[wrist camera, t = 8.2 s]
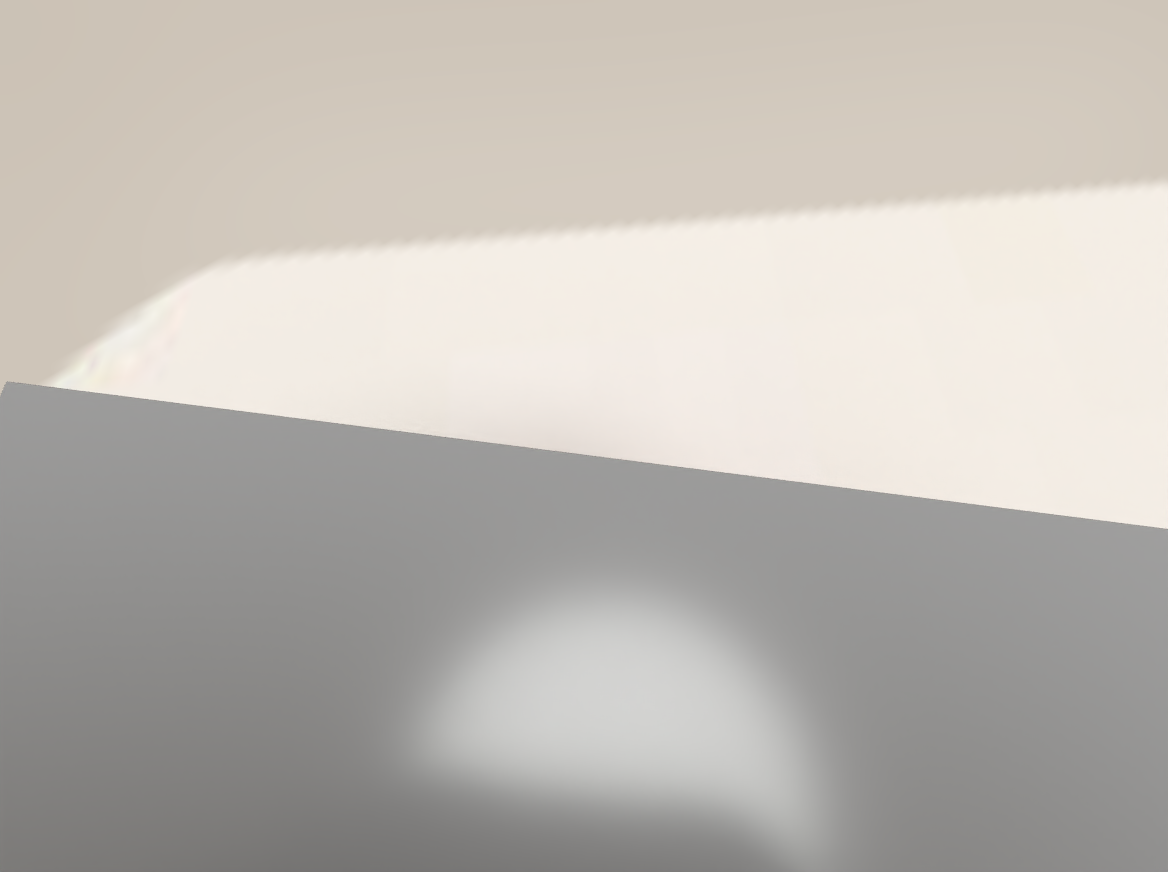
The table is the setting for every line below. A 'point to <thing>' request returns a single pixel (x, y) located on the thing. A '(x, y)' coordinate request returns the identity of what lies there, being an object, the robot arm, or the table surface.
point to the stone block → (549, 661)
